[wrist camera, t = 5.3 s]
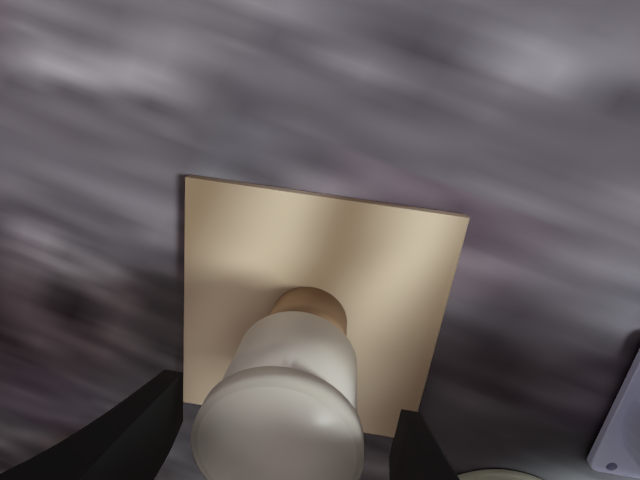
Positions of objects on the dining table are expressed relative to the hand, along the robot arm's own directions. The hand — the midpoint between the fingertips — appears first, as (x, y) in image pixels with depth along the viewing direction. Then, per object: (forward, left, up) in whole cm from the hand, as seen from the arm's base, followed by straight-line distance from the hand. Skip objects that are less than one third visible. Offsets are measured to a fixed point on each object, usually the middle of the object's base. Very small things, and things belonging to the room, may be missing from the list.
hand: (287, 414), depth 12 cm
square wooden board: (0, 0, -6) cm, 6 cm away
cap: (0, 0, -2) cm, 2 cm away
